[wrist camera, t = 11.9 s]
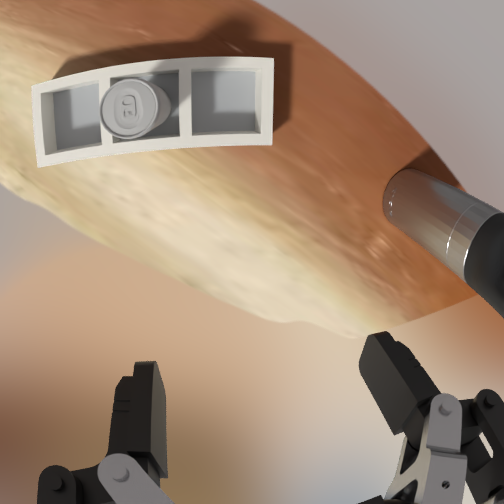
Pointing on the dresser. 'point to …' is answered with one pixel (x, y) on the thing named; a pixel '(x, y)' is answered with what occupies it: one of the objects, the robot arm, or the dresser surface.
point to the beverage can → (133, 108)
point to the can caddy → (181, 115)
